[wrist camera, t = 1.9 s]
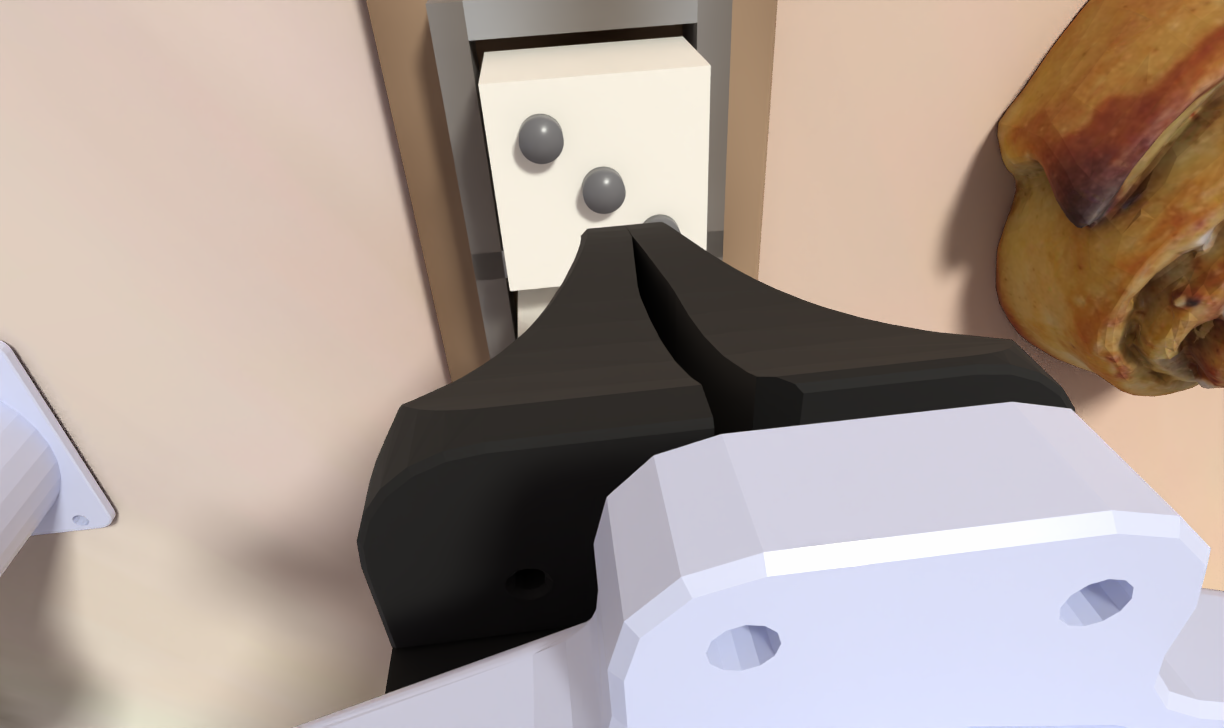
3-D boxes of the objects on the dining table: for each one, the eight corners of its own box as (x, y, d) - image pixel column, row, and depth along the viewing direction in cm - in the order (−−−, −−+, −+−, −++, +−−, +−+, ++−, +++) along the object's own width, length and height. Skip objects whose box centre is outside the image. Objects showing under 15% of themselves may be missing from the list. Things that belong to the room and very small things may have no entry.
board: (491, 538, 29) (489, 595, 27) (360, -61, 17) (336, -49, 15) (734, 509, 30) (752, 563, 28) (771, -89, 18) (808, -82, 15)
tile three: (511, 236, 19) (509, 299, 16) (484, 51, 16) (477, 89, 14) (682, 220, 19) (709, 280, 17) (682, 36, 17) (715, 70, 14)
